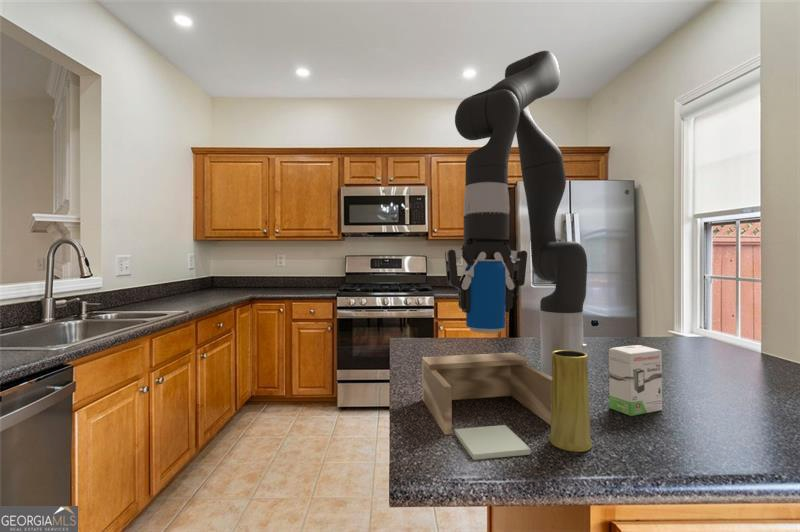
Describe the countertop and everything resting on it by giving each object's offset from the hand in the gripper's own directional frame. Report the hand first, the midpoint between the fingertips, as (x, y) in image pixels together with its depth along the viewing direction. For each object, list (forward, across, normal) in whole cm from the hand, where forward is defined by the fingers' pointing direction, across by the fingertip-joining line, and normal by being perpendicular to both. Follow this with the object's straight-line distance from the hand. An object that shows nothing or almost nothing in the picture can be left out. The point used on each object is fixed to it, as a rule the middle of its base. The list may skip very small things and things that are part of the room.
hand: (485, 311), depth 67 cm
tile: (+20, 0, +4) cm, 21 cm away
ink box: (+20, -32, -5) cm, 38 cm away
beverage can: (+3, 0, 0) cm, 3 cm away
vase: (+20, -12, +6) cm, 24 cm away
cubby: (+20, -3, -9) cm, 22 cm away
